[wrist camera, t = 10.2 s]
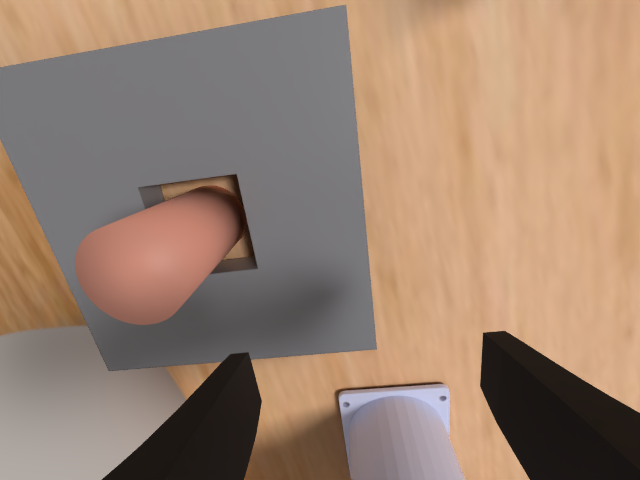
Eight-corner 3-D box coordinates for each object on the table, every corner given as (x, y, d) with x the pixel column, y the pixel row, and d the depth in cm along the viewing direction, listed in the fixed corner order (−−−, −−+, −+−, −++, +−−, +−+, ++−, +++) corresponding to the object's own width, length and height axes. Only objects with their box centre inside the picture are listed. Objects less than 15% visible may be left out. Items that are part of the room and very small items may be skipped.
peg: (252, 244, 19) (198, 320, 11) (192, 251, 19) (100, 329, 12) (238, 181, 17) (166, 218, 10) (173, 190, 18) (56, 232, 10)
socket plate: (372, 329, 20) (376, 349, 19) (128, 350, 22) (108, 371, 20) (344, 21, 15) (345, 4, 13) (11, 80, 16) (-31, 72, 14)
